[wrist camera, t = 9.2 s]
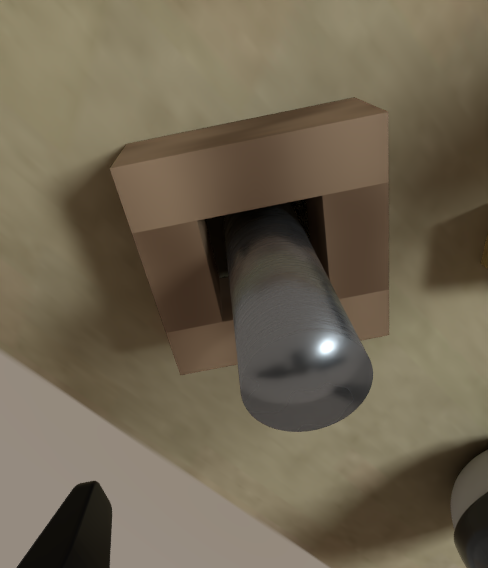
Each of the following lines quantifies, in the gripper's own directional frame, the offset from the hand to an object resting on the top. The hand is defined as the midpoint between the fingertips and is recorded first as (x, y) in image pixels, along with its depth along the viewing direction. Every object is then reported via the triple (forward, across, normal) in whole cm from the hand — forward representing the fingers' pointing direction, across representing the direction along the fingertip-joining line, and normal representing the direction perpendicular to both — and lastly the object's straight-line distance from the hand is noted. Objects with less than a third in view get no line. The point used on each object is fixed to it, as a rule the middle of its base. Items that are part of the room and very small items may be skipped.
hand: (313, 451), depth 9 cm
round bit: (+12, 0, 0) cm, 12 cm away
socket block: (+12, 0, 0) cm, 12 cm away
